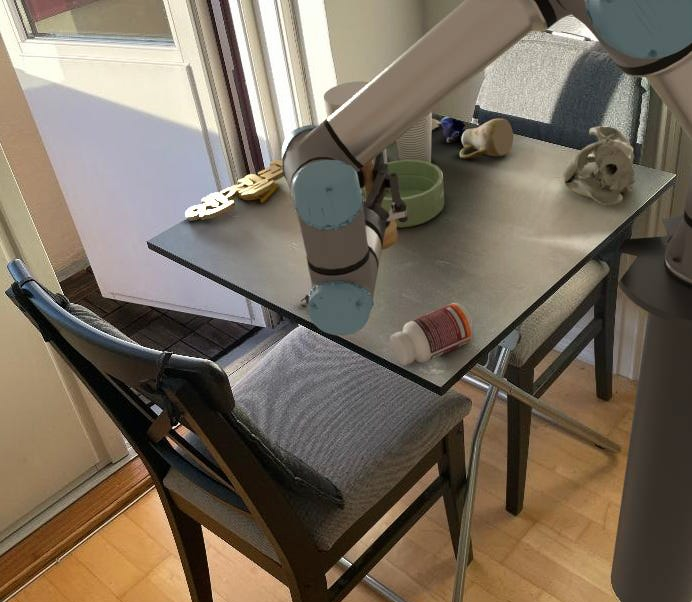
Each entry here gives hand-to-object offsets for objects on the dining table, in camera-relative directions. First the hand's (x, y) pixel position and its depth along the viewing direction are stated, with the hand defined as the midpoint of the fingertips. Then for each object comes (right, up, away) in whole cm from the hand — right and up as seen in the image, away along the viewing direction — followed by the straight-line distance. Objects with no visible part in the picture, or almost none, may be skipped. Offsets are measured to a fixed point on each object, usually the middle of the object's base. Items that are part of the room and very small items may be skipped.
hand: (372, 158), depth 123 cm
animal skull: (+42, -1, +22) cm, 48 cm away
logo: (-19, +2, +35) cm, 40 cm away
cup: (+10, +8, +37) cm, 39 cm away
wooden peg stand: (+1, -12, +3) cm, 12 cm away
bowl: (+7, -3, +25) cm, 26 cm away
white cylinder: (-1, +8, +39) cm, 39 cm away
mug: (+23, +10, +37) cm, 45 cm away
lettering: (-24, +2, +35) cm, 42 cm away
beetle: (-7, -20, +5) cm, 22 cm away
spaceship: (+20, +17, +39) cm, 47 cm away
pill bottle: (+13, -25, -7) cm, 29 cm away
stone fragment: (+11, +20, +45) cm, 51 cm away
